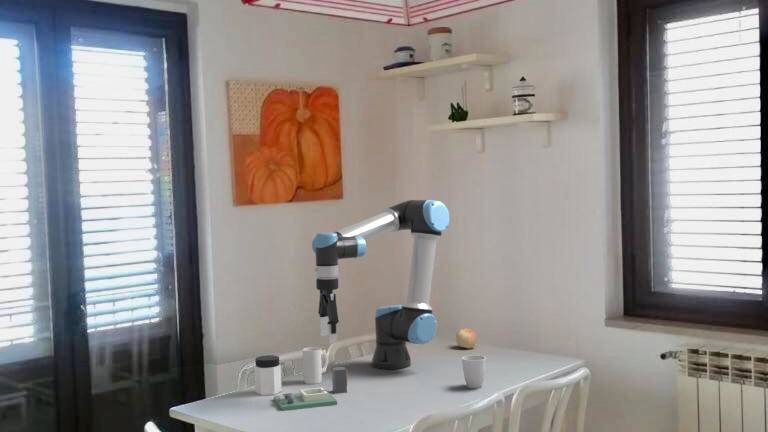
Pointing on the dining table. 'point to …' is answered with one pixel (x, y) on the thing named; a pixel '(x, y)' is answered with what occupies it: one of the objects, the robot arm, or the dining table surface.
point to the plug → (339, 380)
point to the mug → (313, 364)
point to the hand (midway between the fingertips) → (328, 339)
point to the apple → (466, 338)
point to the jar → (267, 375)
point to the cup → (474, 370)
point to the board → (305, 399)
